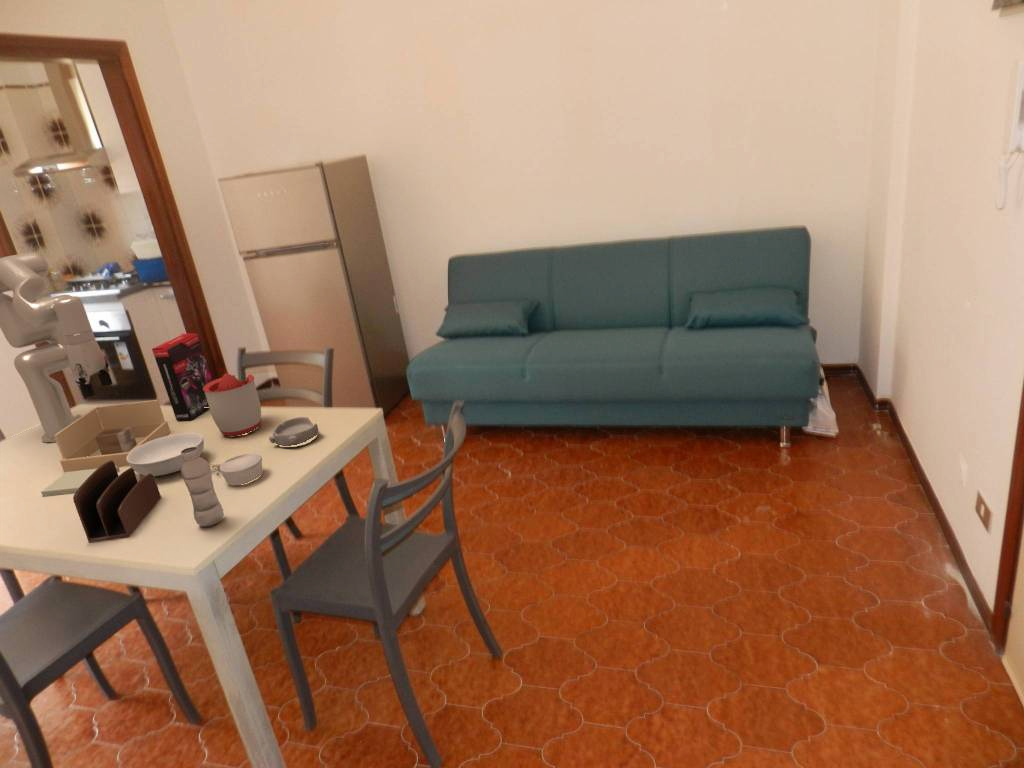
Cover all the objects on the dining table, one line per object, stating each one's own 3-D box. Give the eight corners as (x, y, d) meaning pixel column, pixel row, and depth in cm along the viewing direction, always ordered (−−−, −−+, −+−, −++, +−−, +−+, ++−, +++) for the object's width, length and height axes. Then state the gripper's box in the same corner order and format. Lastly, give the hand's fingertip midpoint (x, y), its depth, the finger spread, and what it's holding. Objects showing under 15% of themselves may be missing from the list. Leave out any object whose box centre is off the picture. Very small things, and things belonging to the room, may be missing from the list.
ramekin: (255, 465, 199) (251, 449, 197) (273, 475, 191) (268, 458, 189) (217, 481, 192) (212, 464, 190) (234, 493, 184) (229, 475, 182)
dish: (302, 427, 222) (298, 413, 220) (330, 434, 214) (326, 419, 212) (264, 446, 211) (260, 431, 210) (292, 454, 203) (288, 439, 202)
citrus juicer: (278, 418, 232) (264, 362, 225) (249, 440, 217) (232, 381, 210) (238, 418, 236) (223, 364, 229) (206, 441, 221) (189, 383, 214)
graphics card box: (191, 421, 239) (168, 347, 230) (174, 422, 241) (150, 348, 232) (220, 402, 255) (199, 332, 246) (203, 403, 257) (182, 333, 247)
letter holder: (88, 543, 168) (68, 493, 163) (125, 502, 186) (108, 456, 182) (129, 537, 168) (110, 487, 163) (162, 497, 187) (146, 450, 182)
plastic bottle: (202, 518, 173) (179, 446, 166) (229, 514, 173) (207, 442, 166) (193, 532, 167) (169, 458, 160) (221, 527, 167) (198, 453, 160)
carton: (107, 439, 233) (95, 406, 229) (170, 432, 232) (160, 399, 228) (64, 472, 210) (50, 437, 206) (134, 464, 210) (121, 429, 205)
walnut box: (110, 449, 224) (103, 430, 221) (137, 446, 223) (130, 427, 221) (102, 456, 219) (94, 436, 217) (129, 453, 219) (122, 433, 216)
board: (68, 476, 208) (66, 472, 207) (119, 470, 207) (118, 466, 206) (42, 496, 196) (40, 491, 196) (97, 490, 196) (95, 485, 195)
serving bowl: (224, 453, 210) (217, 432, 208) (172, 487, 192) (164, 465, 189) (171, 450, 217) (165, 430, 215) (116, 483, 199) (109, 461, 197)
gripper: (84, 331, 216) (102, 382, 222) (50, 347, 200) (70, 402, 206) (107, 328, 216) (125, 379, 222) (75, 344, 200) (94, 399, 205)
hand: (98, 390), depth 214 cm, fingers open, 9 cm apart
